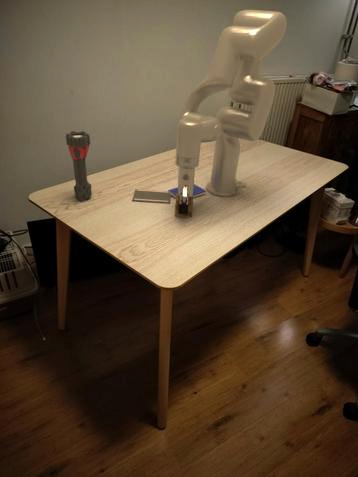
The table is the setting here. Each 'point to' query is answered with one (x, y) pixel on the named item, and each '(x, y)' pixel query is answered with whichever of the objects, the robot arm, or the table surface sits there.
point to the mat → (151, 196)
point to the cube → (190, 206)
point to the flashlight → (79, 162)
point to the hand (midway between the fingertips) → (183, 206)
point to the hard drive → (196, 191)
